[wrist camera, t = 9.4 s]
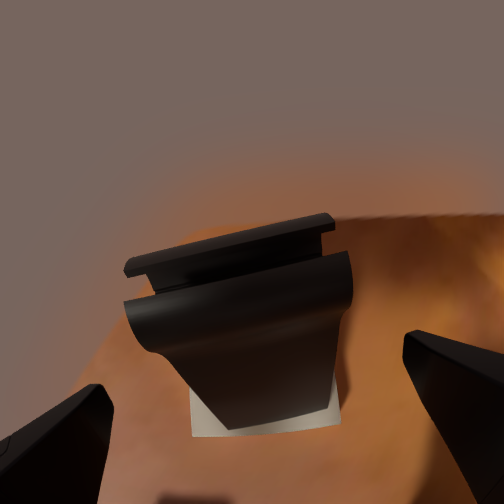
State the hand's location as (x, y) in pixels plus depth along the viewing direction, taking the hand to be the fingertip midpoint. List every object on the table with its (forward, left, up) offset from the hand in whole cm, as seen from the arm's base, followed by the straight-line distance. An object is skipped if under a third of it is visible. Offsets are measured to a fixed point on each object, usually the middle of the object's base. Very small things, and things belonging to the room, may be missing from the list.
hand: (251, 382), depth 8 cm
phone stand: (0, -3, -11) cm, 11 cm away
